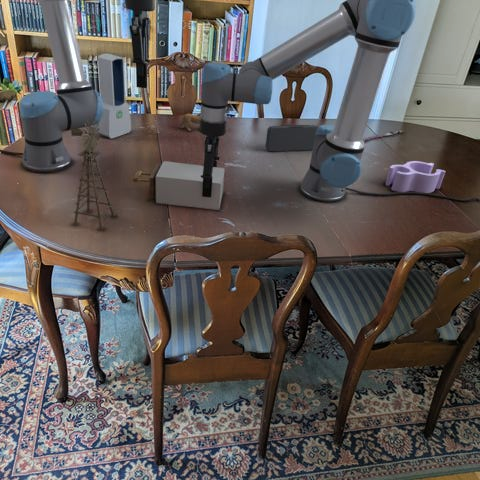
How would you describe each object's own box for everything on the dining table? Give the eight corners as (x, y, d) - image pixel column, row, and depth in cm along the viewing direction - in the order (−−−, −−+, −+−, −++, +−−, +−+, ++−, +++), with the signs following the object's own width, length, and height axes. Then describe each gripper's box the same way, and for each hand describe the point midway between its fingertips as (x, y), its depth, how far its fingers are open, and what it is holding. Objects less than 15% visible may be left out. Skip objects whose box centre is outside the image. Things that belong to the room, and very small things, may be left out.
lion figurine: (209, 126, 205) (210, 106, 200) (212, 130, 201) (214, 110, 196) (176, 127, 200) (177, 107, 195) (179, 132, 196) (180, 111, 191)
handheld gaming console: (315, 147, 196) (319, 124, 190) (317, 149, 194) (322, 126, 188) (264, 149, 189) (267, 125, 183) (266, 152, 187) (269, 127, 181)
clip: (398, 195, 164) (404, 177, 160) (379, 179, 174) (383, 162, 170) (444, 191, 170) (450, 174, 166) (423, 176, 180) (428, 160, 176)
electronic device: (109, 139, 182) (104, 59, 166) (96, 134, 185) (89, 55, 169) (132, 131, 192) (129, 55, 175) (118, 127, 195) (114, 51, 178)
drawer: (131, 196, 144) (130, 175, 140) (139, 182, 152) (138, 161, 149) (208, 205, 144) (210, 184, 140) (212, 190, 152) (214, 170, 148)
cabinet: (155, 203, 144) (155, 176, 139) (163, 186, 153) (163, 161, 148) (219, 210, 144) (221, 183, 139) (222, 193, 153) (224, 168, 148)
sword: (399, 131, 224) (400, 128, 223) (404, 133, 222) (405, 130, 221) (355, 142, 208) (356, 139, 207) (360, 144, 206) (361, 142, 205)
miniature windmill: (101, 230, 128) (92, 124, 112) (72, 224, 129) (59, 119, 113) (115, 214, 135) (109, 113, 119) (88, 209, 136) (78, 108, 120)
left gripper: (148, -4, 112) (149, 94, 125) (160, -9, 123) (160, 82, 136) (117, -7, 112) (122, 91, 125) (132, -12, 123) (134, 79, 136)
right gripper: (222, 135, 124) (216, 207, 136) (230, 108, 144) (224, 173, 156) (194, 132, 124) (191, 204, 136) (205, 106, 144) (202, 170, 156)
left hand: (141, 86), depth 131 cm, fingers closed
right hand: (209, 187), depth 146 cm, fingers closed on cabinet, 11 cm apart
